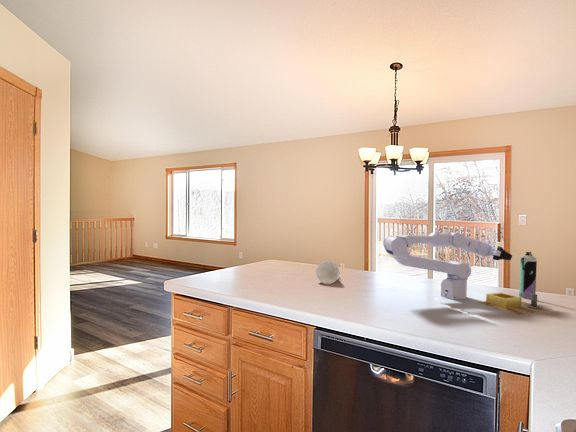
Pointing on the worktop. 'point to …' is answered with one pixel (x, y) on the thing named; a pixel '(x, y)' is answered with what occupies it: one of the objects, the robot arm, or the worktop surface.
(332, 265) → the grey rounded lump
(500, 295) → the golden square frame
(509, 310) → the board
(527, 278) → the spray can
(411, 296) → the worktop surface
